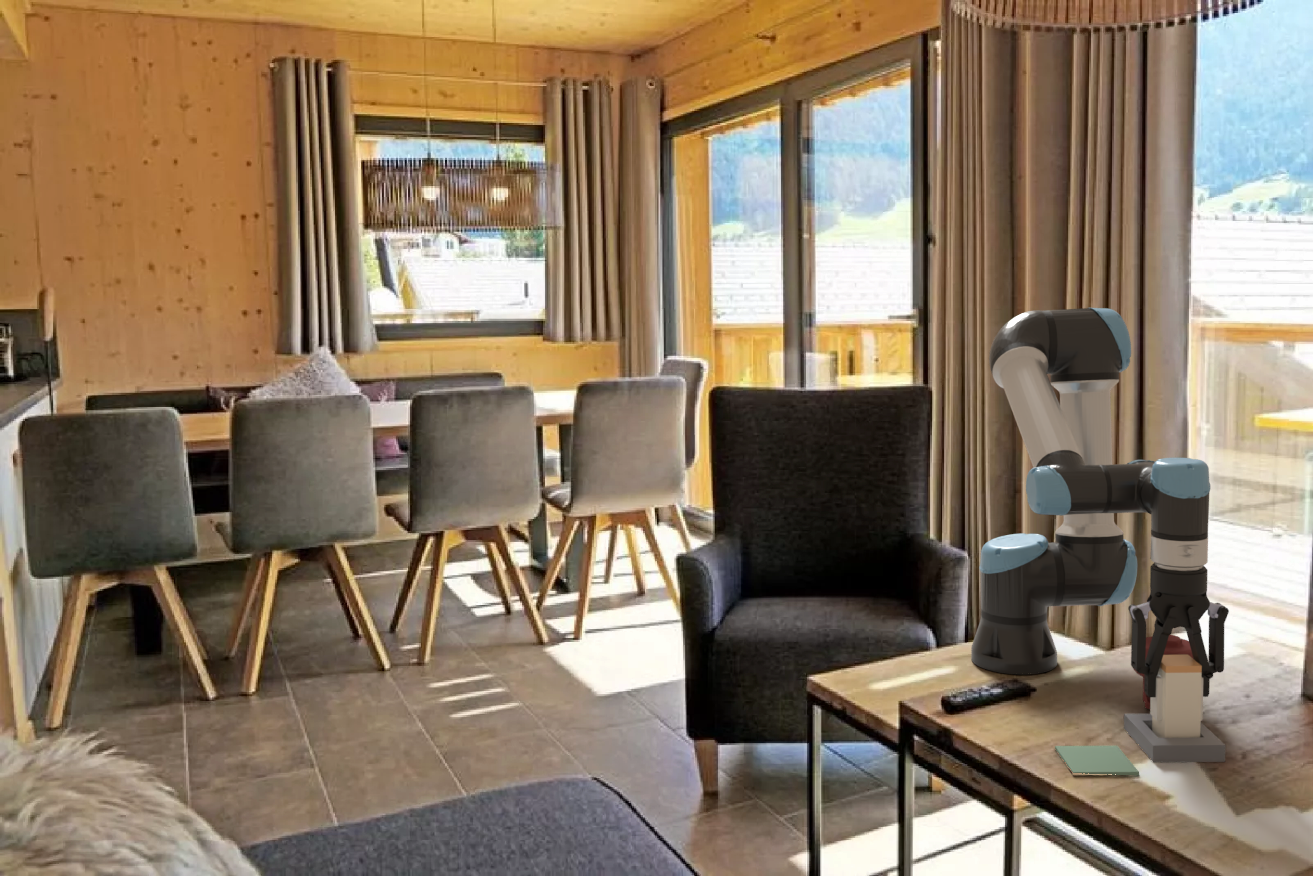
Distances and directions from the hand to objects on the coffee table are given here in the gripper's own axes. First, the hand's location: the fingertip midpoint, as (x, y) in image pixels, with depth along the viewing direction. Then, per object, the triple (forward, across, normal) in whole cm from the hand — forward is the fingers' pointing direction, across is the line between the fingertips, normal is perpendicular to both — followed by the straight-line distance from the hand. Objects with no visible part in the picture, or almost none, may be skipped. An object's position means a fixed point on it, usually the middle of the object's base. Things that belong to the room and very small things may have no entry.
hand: (1176, 716), depth 160 cm
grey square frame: (+4, 0, 0) cm, 4 cm away
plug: (+4, 0, 0) cm, 4 cm away
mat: (+4, -13, -6) cm, 15 cm away
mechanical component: (+5, +4, +13) cm, 14 cm away
